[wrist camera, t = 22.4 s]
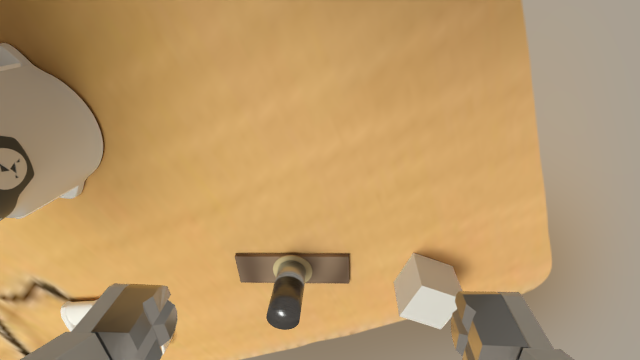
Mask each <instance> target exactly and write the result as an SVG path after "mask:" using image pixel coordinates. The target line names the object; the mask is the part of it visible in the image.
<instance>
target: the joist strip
mask: <svg viewBox="0 0 640 360" xmlns="http://www.w3.org/2000/svg"><path fill="white" fill-rule="evenodd" d="M235 259H236V264H237V268H238V272H239V276H240V281H241V282H252V283H275V279H276V275H277V271H278V267H279V265H280V264H281V263H282V262H284V261H288V260H293V261H297V262H300V263H301V264H302V265H303V266H304V267H305V269H306V277H305V283H349V254H236V255H235Z"/></svg>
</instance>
